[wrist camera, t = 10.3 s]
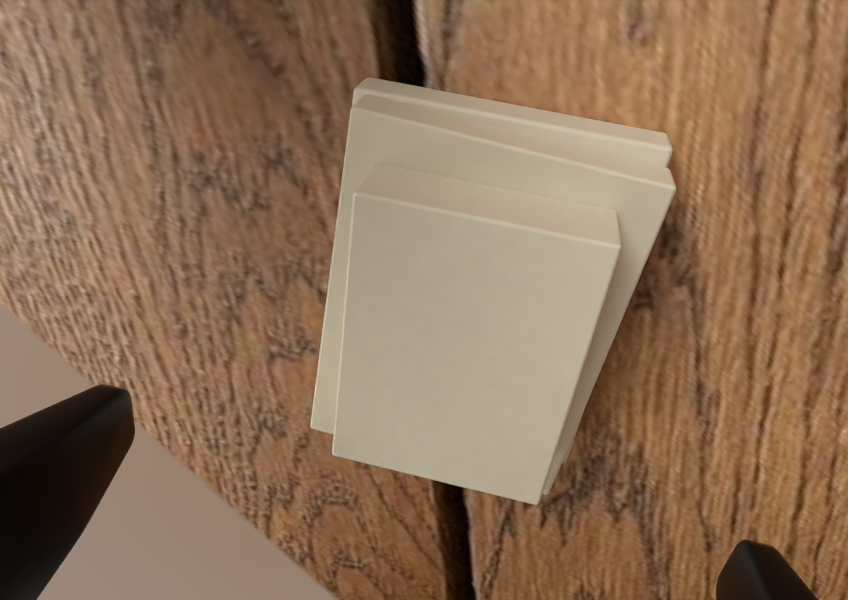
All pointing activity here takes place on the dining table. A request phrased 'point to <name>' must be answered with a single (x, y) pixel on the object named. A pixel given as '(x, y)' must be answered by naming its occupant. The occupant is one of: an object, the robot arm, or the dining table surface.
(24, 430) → the robot arm
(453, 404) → the cream book
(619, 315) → the cream books
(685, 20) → the dining table surface
